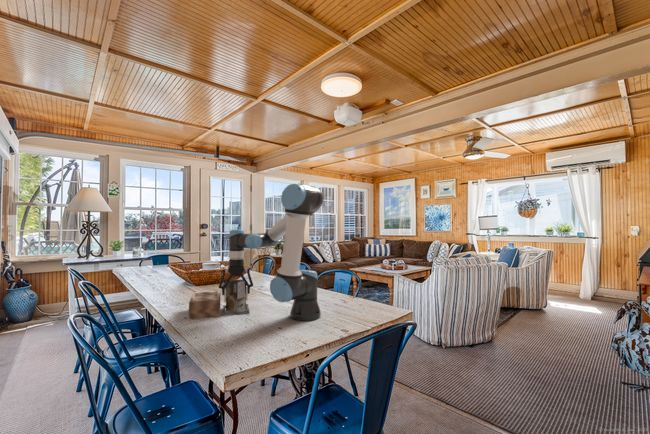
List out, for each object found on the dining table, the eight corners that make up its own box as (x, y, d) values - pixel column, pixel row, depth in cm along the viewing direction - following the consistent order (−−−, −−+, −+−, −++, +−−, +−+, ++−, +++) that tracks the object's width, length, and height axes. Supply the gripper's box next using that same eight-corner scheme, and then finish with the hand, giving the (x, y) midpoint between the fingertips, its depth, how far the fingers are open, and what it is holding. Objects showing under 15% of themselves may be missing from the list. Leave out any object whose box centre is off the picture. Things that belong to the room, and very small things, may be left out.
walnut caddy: (247, 305, 176) (247, 288, 176) (249, 314, 159) (249, 295, 159) (192, 309, 167) (193, 291, 168) (188, 319, 150) (189, 299, 150)
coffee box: (246, 310, 166) (246, 280, 166) (237, 313, 160) (237, 281, 161) (234, 308, 170) (235, 278, 171) (225, 310, 165) (225, 280, 165)
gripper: (257, 257, 173) (257, 297, 172) (214, 258, 166) (213, 300, 166) (258, 258, 166) (258, 300, 165) (213, 260, 159) (212, 303, 158)
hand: (236, 300), depth 165 cm, fingers closed on coffee box, 10 cm apart
